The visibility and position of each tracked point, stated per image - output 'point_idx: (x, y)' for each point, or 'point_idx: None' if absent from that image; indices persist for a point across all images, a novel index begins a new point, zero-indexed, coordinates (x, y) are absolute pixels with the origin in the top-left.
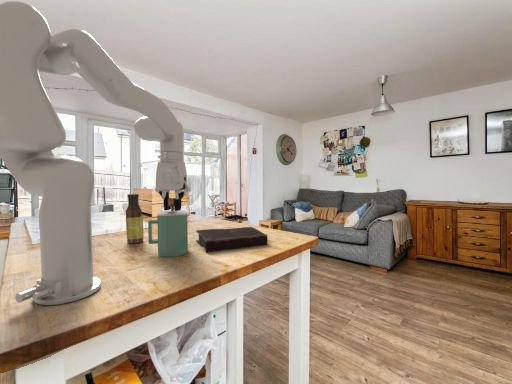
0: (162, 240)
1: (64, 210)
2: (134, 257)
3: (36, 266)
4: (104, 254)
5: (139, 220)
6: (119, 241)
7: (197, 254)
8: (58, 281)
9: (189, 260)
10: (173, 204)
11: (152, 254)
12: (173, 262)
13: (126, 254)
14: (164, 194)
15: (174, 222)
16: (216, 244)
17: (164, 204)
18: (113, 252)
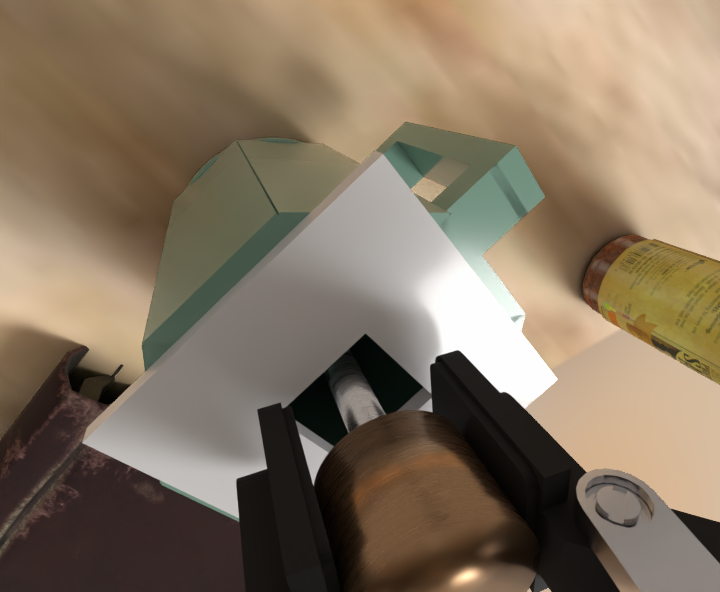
0: (294, 156)
1: None
2: (432, 41)
3: None
4: (635, 10)
5: (709, 339)
6: (694, 240)
7: (95, 288)
8: None
9: (27, 160)
10: (337, 474)
11: (372, 145)
12: (97, 69)
13: (518, 70)
14: (646, 573)
15: (192, 261)
16: (15, 430)
17: (493, 401)
18: (611, 67)
